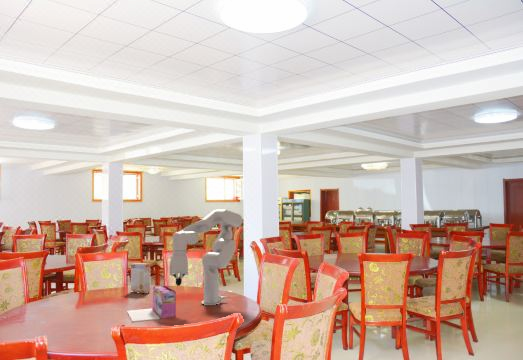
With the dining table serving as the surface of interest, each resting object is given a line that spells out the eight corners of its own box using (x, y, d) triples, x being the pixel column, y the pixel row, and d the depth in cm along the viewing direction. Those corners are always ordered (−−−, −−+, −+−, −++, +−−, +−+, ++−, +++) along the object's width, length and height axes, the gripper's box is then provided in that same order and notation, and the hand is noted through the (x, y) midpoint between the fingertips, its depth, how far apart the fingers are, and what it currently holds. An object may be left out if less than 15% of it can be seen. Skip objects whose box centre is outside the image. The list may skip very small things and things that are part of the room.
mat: (151, 309, 247) (151, 308, 247) (159, 319, 224) (159, 318, 224) (126, 311, 242) (126, 310, 242) (132, 322, 218) (132, 321, 218)
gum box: (151, 309, 247) (152, 286, 248) (165, 308, 250) (165, 285, 251) (161, 318, 225) (162, 292, 226) (176, 316, 229) (176, 291, 230)
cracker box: (150, 292, 300) (150, 263, 301) (143, 294, 295) (144, 264, 296) (136, 291, 307) (137, 262, 309) (130, 292, 302) (130, 263, 304)
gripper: (190, 252, 250) (189, 283, 248) (165, 253, 244) (164, 285, 242) (193, 253, 243) (192, 285, 241) (167, 254, 237) (166, 287, 235)
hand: (178, 285), depth 242 cm, fingers closed
